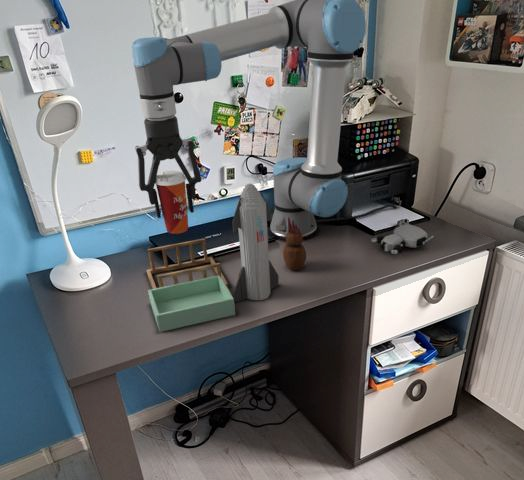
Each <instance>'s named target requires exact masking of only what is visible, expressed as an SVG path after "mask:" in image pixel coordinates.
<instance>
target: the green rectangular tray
mask: <svg viewBox="0 0 524 480" xmlns="http://www.w3.org/2000/svg"><path fill="white" fill-rule="evenodd" d="M147 293H148V298H149V302H150V307H151V310H152V313H153V315H154V316H153V317H154V319H155V323H156V326H157V329H158V331H159V333H163V332H167V331H171V330H175V329H181V328H183V327H188V326H192V325H197V324H201V323H206V322H210V321H215V320H219V319H223V318H228V317H232V316H236V307H235V297H234V296H233V295H232V293H231V291H230V290H229V287H228V288H227V287H226V285H225V283H224V281H223V280H222V278H221V276H220V275H217V274H216V275H213V276H209V277H208V276H207V278H199V279H193V281H189V280H188V281H186V282H185V281H184V282H180V283H179V282H178V284H171V285H165V286H164V287H160V286H159V287H156V288H155V289H152V288H151V289H148V290H147Z"/></svg>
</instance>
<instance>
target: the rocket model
mask: <svg viewBox="0 0 524 480" xmlns="http://www.w3.org/2000/svg"><path fill="white" fill-rule="evenodd" d="M271 221H272V208H271V207H270V205H269V203H268V201H267V200H266V198H265V196H264V194H263V192H262V191H259V189H258V188H257V187H256V185H254V184H253V183H247V184H246V185H244V188H243V189H242V191H241V194H240V197H239V198H238V199H237V203H236V208H235V212H234V214H233V218H232V220H231V222H232V233H233V234H234V233H236V232H238V240H239V241H238V242H239V251H240V261H241V262H240V263H241V267H240V271H239V273H238V277H237V281H236V285H235V286H234V290H233V295H234V296H233V298H234V303H237V302H240V301H243V300H246V299H249V300H251V301H263V300H267V299H268V298H269V296H270V295H271V290H272V289H274V288H276V287H278V286H279V274H278V272H277V270H276V269H275V267H274V266H273V264H272V262H271V260H270V254H269V236H268V222H271Z"/></svg>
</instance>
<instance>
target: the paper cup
mask: <svg viewBox="0 0 524 480" xmlns="http://www.w3.org/2000/svg"><path fill="white" fill-rule="evenodd" d="M186 180H187V179H186V177H185V175H184V174H183V172H182V171H180V170H165V171H160V172H157V176H156V180H155V187H156V192H157V196H158V201H159V205H160V210H161V213H162V218H163V222H164V225H165V226H164V227H165V229H166V232H167V233H169V234H173V235H174V234H176V235H177V234H182V233H183V234H184V233H185V232H187V231H188V230H189V217H188V201H187V191H186Z"/></svg>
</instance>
